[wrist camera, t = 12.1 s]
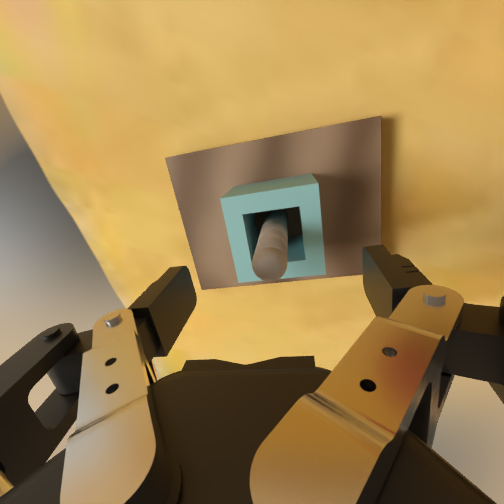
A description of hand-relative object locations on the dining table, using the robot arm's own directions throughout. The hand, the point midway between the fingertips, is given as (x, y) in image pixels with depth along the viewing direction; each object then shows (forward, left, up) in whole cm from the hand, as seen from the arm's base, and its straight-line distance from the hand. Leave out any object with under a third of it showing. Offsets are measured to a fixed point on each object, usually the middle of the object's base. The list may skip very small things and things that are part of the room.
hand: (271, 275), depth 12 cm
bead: (0, 0, -10) cm, 10 cm away
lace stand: (0, 0, -12) cm, 12 cm away
